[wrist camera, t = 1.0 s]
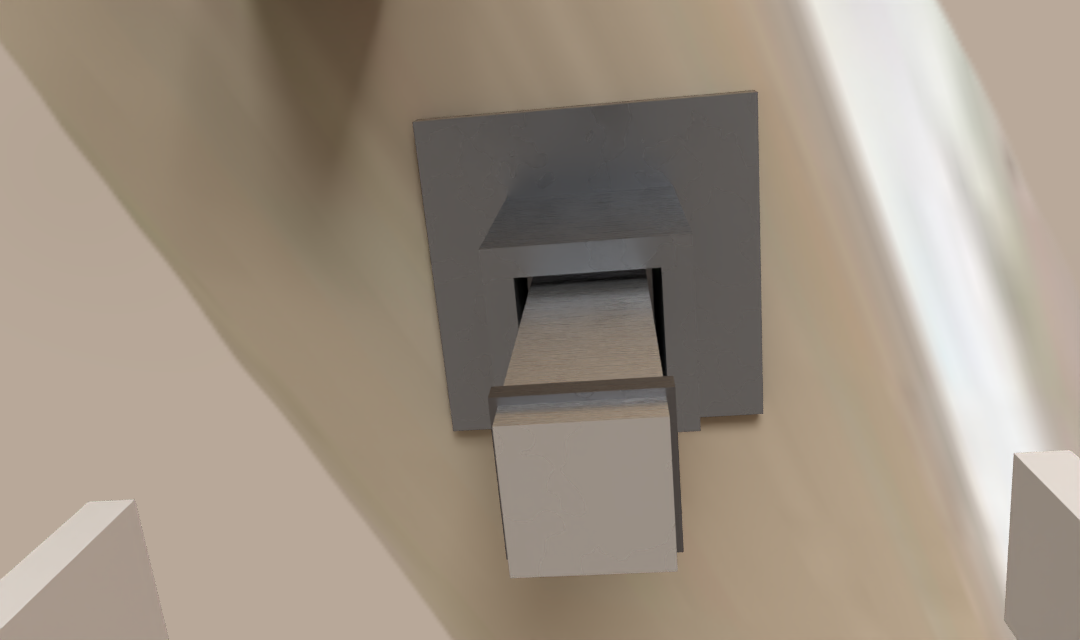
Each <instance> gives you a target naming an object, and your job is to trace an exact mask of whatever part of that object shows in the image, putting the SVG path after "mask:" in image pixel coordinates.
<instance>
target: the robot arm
mask: <svg viewBox="0 0 1080 640" xmlns="http://www.w3.org/2000/svg"><path fill="white" fill-rule="evenodd" d="M1004 621H1005V622H1006V624H1007V625H1008V627H1009V628H1010V630H1011V631H1012V633H1013V634H1014V636H1015V637H1016V638H1017V640H1080V458H1079V457H1078V456H1077V455H1075V454H1074V453H1073V452H1072V451H1071V450H1063V451H1044V452H1025V453H1014V460H1013V477H1012V494H1011V512H1010V529H1009V546H1008V563H1007V581H1006V598H1005V615H1004ZM0 640H169V638H168V634H167V629H166V625H165V622H164V617H163V613H162V609H161V605H160V601H159V597H158V592H157V588H156V584H155V580H154V576H153V572H152V568H151V563H150V559H149V555H148V551H147V547H146V543H145V539H144V535H143V530H142V526H141V522H140V519H139V514H138V510H137V506H136V502H135V499H131V500H114V501H113V500H112V501H94V502H88V503H86V504H85V505H84V506H83V507H82V508H81V509H80V510H78V511H77V512H76V513H75V514H74V515H73V516H72V517H71V518H69V519H68V520H67V521H66V522H65V523H64V524H63V525H62V526H60V527H59V528H58V529H57V530H56V531H55V532H54V533H53V534H51V535H50V536H49V537H48V538H47V539H46V540H45V541H44V542H42V543H41V544H40V545H39V546H38V547H37V548H36V549H34V550H33V551H32V552H31V553H30V554H29V555H28V556H26V557H25V558H24V559H23V560H22V561H21V562H20V563H19V564H17V566H15V567H14V568H13V569H12V570H11V571H9V572H8V573H7V574H6V575H5V576H4V577H3V578H2V579H1V580H0Z"/></svg>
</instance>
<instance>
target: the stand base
mask: <svg viewBox="0 0 1080 640" xmlns="http://www.w3.org/2000/svg"><path fill="white" fill-rule="evenodd" d="M413 128H414V136H415V144H416V151H417V159H418V166H419V174H420V181H421V189H422V197H423V204H424V212H425V219H426V227H427V234H428V242H429V250H430V257H431V265H432V272H433V280H434V287H435V295H436V303H437V310H438V318H439V325H440V333H441V341H442V348H443V356H444V363H445V371H446V378H447V386H448V394H449V401H450V409H451V416H452V424H453V431H463V430H480V429H491V422H490V413H489V405H488V395H489V392H490V389H491V387H494V386H503V385H504V382H505V378H506V374H507V371H508V367H509V363H510V359H511V356H512V352H513V348H514V345H515V341H516V337H517V334H518V330H519V326H520V322H521V319H522V315H523V311H524V308H525V304H526V300H527V297H528V293H529V292H528V282H527V277H534V276H548V275H562V274H576V273H590V272H604V271H618V270H633V269H647V268H652V286H653V304H654V322H655V331H656V337H657V343H658V349H659V355H660V361H661V367H662V373H663V376H673V377H674V382H675V388H676V409H677V429H678V432H689V431H701V429H700V417H714V416H731V415H749V414H763V376H762V319H761V261H760V204H759V147H758V92H757V91H755V90H751V91H740V92H728V93H717V94H705V95H694V96H682V97H671V98H659V99H648V100H636V101H625V102H614V103H602V104H591V105H579V106H568V107H556V108H545V109H533V110H522V111H511V112H499V113H488V114H476V115H465V116H453V117H442V118H430V119H419V120H415V121H414V122H413Z"/></svg>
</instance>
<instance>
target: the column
mask: <svg viewBox="0 0 1080 640" xmlns="http://www.w3.org/2000/svg"><path fill="white" fill-rule="evenodd" d="M527 282H528V292H529V293H528V297H527V300H526V304H525V308H524V311H523V315H522V319H521V322H520V326H519V330H518V334H517V337H516V341H515V345H514V348H513V352H512V356H511V359H510V363H509V367H508V371H507V374H506V378H505V382H504V385H503V386H494V387H491V389H490V392H489V395H488V405H489V413H490V422H491V430H492V439H493V447H494V456H495V464H496V473H497V481H498V490H499V498H500V507H501V515H502V524H503V532H504V541H505V549H506V558H507V560H508V564H509V573H510V578H528V577H552V576H577V575H602V574H626V573H651V572H675V571H678V567H677V552H684V551H683V531H682V510H681V490H680V470H679V449H678V429H677V409H676V388H675V382H674V377H673V376H663V373H662V367H661V361H660V355H659V349H658V343H657V337H656V331H655V322H654V304H653V286H652V268H647V269H633V270H618V271H604V272H590V273H576V274H562V275H548V276H534V277H527Z"/></svg>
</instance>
